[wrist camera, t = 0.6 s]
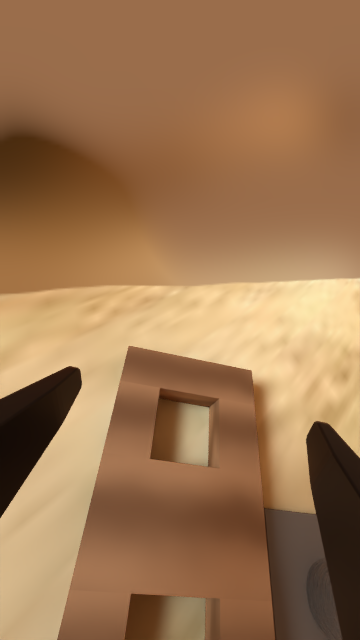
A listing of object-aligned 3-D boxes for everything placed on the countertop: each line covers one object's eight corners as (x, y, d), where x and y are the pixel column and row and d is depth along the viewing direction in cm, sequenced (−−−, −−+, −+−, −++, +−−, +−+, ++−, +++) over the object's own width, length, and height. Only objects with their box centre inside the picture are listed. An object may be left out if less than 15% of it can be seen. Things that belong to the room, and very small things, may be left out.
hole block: (266, 844, 14) (299, 913, 12) (2, 870, 12) (-21, 959, 10) (240, 380, 31) (251, 370, 29) (126, 358, 29) (128, 345, 27)
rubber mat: (412, 706, 19) (418, 711, 18) (278, 708, 17) (283, 713, 17) (362, 519, 25) (366, 520, 25) (261, 508, 24) (264, 508, 23)
